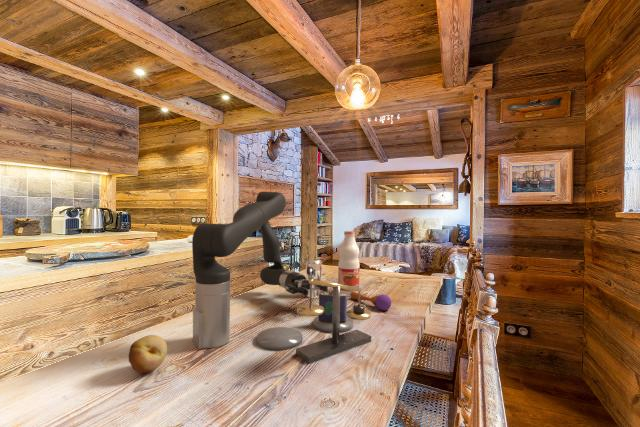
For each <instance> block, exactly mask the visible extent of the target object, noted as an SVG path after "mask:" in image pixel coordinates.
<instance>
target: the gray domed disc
mask: <svg viewBox="0 0 640 427" xmlns="http://www.w3.org/2000/svg"><path fill="white" fill-rule="evenodd" d="M302 342H303V333H302V332H301V331H300V330H298V329H296V328H293V327H289V326H276V327H269V328H266V329H263V330H262V331H260V332H259V333H257V335H256V343H257V345H258V346H259V347H260V348H262V349H266V350H270V351H286V350H291V349H293V348H297V347H298V346H299V345H301V344H302Z"/></svg>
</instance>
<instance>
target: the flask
mask: <svg viewBox="0 0 640 427" xmlns="http://www.w3.org/2000/svg"><path fill="white" fill-rule="evenodd" d="M318 305H320V306H322V307H324V313H323V314H322V315H319V321H320V322H328V323H332V312H333V288H331V290H330V292H329V291H327V292H324V291H323V292H320V294H319V298H318ZM347 307H348V297H347V295H346V294H340V323H345V322H346V321H347V317H348V316H347V311H348V308H347Z"/></svg>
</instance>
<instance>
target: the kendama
mask: <svg viewBox="0 0 640 427" xmlns="http://www.w3.org/2000/svg"><path fill="white" fill-rule="evenodd" d="M350 299H351V300H357V301H358V293H357V292H354V291H352V292H351V294H350ZM360 301H367V302H371V304H372V305H374V306H375V307H376V308H377V309H378V310H379V311H383V312H385V311H387V310H389V309H390V308H391V307H392V300H391V297H390V296H389V295H387V294H383V293H382V294H379V295H374V296H372V297H369V296H367V295H365V294H362V293H360Z"/></svg>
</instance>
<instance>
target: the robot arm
mask: <svg viewBox="0 0 640 427" xmlns="http://www.w3.org/2000/svg"><path fill="white" fill-rule="evenodd" d="M286 201H287V200H286V196H285V195H284V194H283V193H281V192H278V191H260V192H258V194H257V196H256V199H255V202H250V203H248V204H246V205H244V206H242V207H240V208H239V209H237V210H236V212H234V214H233V218H232V222H231V223H201V224H200V223H199V225H197V226H196V227H195V229H194V231H193V234H192V240H191V242H192V243H191V245H192V246H191V248H192V266H193V267H192V268H193V273H194V276H195V277H194V278H195V298H194V299H195V304H194V305H195V307H193V308H192V343H193V344H194V345H195V347H197V349H199V350H200V349H201V350H202V349H214V348H218V347H222V346H224V345H226V344H227V343H229V341H230V332H231V330H230V329H231V326H230V322H231V320H230V319H231V318H230V316H231V314H230V312H231V311H230V310H231V270H229V269H228V268H227V267H225V266H223V265H222V264H220V263H219V262H218V261H217V260H216V257H217V258H225V257H229V256H231V255H232V254H234V252H236V250H237V249H238V248H239V247H240V246H241V245H242V243H243V242H244V241H245V240H246V239H247V238H248V237H249V236H251V235H252V234H253V233H254V232H256V231H258V230H259V229H260V233H261V238H262V239H261V240H262V254H263V260H264V262H266V263H268V264H269V263H270V264H272V265H270V266H266V267H263V268H262V269H261V270H260V272H259V277H260V279H261V281H262V282H263V283H264V284H266V285H270V286H279V287H281V288H284V289H285V291H286V292H288V293H289V294H291V295H296V294H298V295H300V294H301V295H304V296H305V297H307V295H308V290H310V283H309V280H308V279H306V275H304V274H302V273H299V272H297V271H294V270H288V269H286V268H285V266H284V265H283V262H282V258H281V245H280V239H279V237H278V235H277V234H276V233H275V230H274V229H273V227H272V226H271V223H270V222H269V221H271V220H272V219H274V218H276V217H278V216H280V215H281V214H282V213H283V212H284V210H285V208H286V204H287V202H286ZM314 280H317V279H314ZM319 281H320V280H319ZM312 285H314V284H312ZM318 287H319V288H318ZM328 288H329V287H326V286H320V285H314V288H312V290H313V291H315V290H316V289H317V290H320V291H322V292H323V293H324V292H325V293H327V292H329V291H328V290H329V289H328Z"/></svg>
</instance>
